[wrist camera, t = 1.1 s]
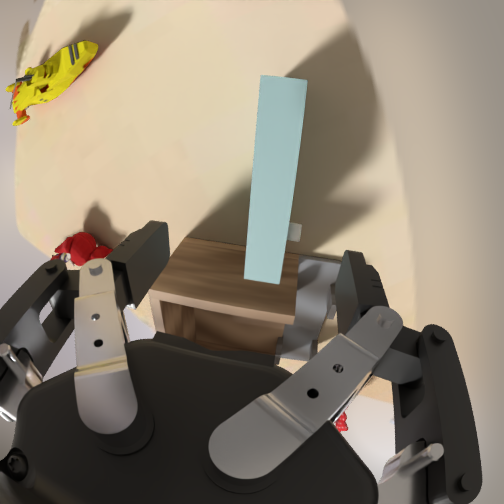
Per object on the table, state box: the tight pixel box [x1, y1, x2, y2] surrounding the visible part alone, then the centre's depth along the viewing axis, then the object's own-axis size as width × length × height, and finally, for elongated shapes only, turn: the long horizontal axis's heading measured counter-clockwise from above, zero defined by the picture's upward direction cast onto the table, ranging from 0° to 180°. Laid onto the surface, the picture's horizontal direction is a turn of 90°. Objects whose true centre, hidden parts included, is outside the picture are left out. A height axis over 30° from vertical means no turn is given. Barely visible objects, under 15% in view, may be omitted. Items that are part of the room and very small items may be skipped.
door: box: [244, 75, 308, 284], centre depth 25 cm, size 16×4×12 cm, turn 176°
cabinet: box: [148, 237, 341, 365], centre depth 37 cm, size 20×21×11 cm
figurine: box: [51, 232, 113, 266], centre depth 40 cm, size 6×8×15 cm
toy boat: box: [6, 40, 98, 126], centre depth 23 cm, size 6×18×10 cm, turn 104°
